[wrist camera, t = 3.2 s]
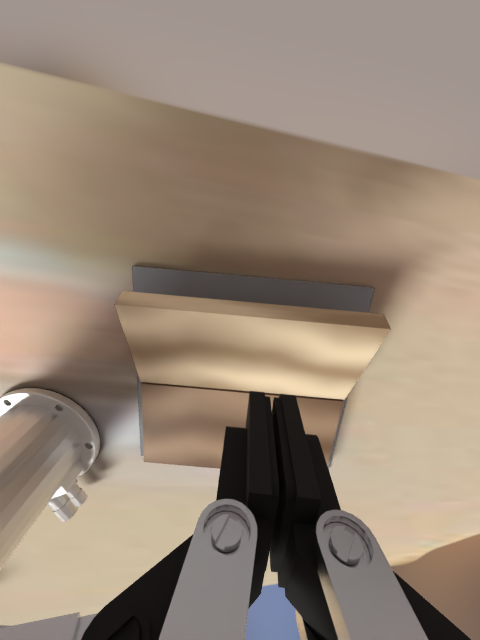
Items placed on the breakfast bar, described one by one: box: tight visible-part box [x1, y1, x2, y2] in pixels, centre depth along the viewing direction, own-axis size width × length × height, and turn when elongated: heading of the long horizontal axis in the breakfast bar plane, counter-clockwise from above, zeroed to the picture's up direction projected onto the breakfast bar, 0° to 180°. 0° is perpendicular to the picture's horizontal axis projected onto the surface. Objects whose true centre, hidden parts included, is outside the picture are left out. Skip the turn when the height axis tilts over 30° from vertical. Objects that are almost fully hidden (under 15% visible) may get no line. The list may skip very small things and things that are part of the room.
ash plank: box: [114, 291, 391, 400], centre depth 24 cm, size 10×20×2 cm, turn 85°
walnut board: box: [141, 382, 344, 468], centre depth 29 cm, size 10×20×2 cm, turn 85°
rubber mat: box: [132, 266, 375, 470], centre depth 28 cm, size 22×22×1 cm
